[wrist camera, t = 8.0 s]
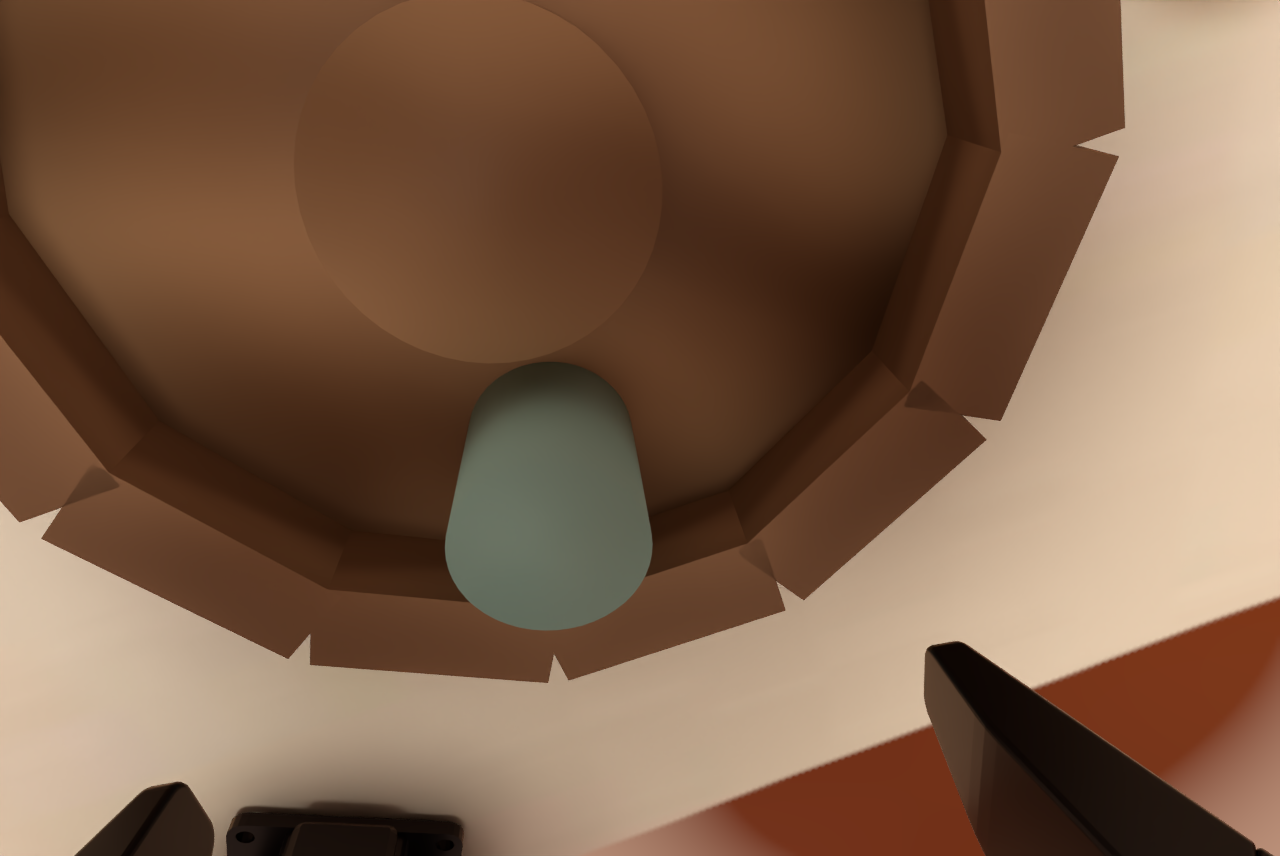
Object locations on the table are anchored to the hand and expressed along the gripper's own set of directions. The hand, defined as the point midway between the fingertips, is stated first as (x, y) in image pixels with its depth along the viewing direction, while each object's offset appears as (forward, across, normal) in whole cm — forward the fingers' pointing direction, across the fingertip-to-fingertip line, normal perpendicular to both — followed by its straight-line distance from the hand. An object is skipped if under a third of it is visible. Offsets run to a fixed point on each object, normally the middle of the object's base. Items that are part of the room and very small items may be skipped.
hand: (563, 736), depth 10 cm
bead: (+8, 0, 0) cm, 8 cm away
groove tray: (+9, 0, -5) cm, 11 cm away
